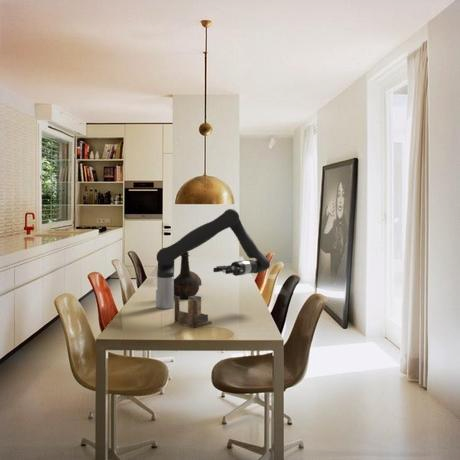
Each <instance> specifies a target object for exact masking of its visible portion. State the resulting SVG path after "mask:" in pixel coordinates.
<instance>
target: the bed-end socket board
mask: <svg viewBox="0 0 460 460" xmlns="http://www.w3.org/2000/svg"><path fill="white" fill-rule="evenodd" d="M173 323H174V324H177V325H181V326H185V327H188V328H192V329H198V328H199V327H203V326H208V325H212V323H213V322H212V321H210V320H209V314H206V313H202V312H201V316H198V300H193V314H191V313H188V311H182V310H180V298H179V296H175V295H174V321H173Z"/></svg>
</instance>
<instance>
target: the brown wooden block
mask: <svg viewBox="0 0 460 460" xmlns="http://www.w3.org/2000/svg"><path fill="white" fill-rule="evenodd" d="M193 300H198V316H201V313H202V296H201V295H200V296H199V295H195V296H191V297H188V298H187V313H191V314H193Z"/></svg>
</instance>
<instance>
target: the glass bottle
mask: <svg viewBox="0 0 460 460" xmlns="http://www.w3.org/2000/svg"><path fill="white" fill-rule="evenodd" d="M189 257H190V255H189V251H188V252H186V253H184V254H182V255H181V256H180V259H181V260H180V269H179V270H180V272H179V274H180V275H179V274H178V275H179V277H177V276H176V277H177V278H176V277H174V297H175V296H179V299H188V297H191V296H197V294H198V293H199V290H200V286H199V283H198V281H197V280H196V279H194V278H193V277H192V276H191V274H190V271H191V270H190V262H189Z"/></svg>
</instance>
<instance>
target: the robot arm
mask: <svg viewBox="0 0 460 460" xmlns="http://www.w3.org/2000/svg"><path fill="white" fill-rule="evenodd" d="M227 229H230V230H231V231H232V232H233V234H234V235H235V237H236V238H237V241H238V243H239V244H240V246H241V248H242V249H243V251H244V253H245V254H246V256H247V257H248V259H251V260H238V261H237V260H236V261H233V262H231V263H230V265H218V266H216V267H213V273H221V272H222V273H224V274H225V275H230V274H231V275H233V276H235V277H238V276H244V275H245V276H246V275H247V274H259V273H262V272H264V271H266V270H269V268H270V266H271V263H270V260H269V259H268V257H267V256H265V254H263V252H262V251H260V250H259V248H258V247H257V245H256V244H255V242H254V240H253V239H252V238H251V236H250V234H248V232H247V231H246V229H245V227H244V225H243V224H242V221H241V219H240V214H239V212H238V211H237V210H236V209H234V208H228V209H226V210H225V211H224V212H223V213H221V214H220V215H219V216H218V217H216V218H215V219H213V220H212V221H210V222H207V223H205V224H202V225H199V226H198V227H196V228H195V229H192V231H189V232H188V233H186V234H185V235H184V236H182V237H181V238H180V239H178V240H177V241H176V242H175V243H173V244H171V245H169V246H166V247H162V248H161V249H159V250H158V252H157V253H156V261H157V270H156V271H157V272H156V278H157V279H156V287H157V288H156V290H155V307H156V308H158V309H160V310H163V309H164V310H167V309H174V308H175V295H174V279H175V261H176V259H178V258H179V257H181V255H182V254H184V253H186V252H188V253H189V252H190V251H193V250H194V249H197V248H199V247H200V246H202V245H204V244H205V243H207V242H208V241H210V240H211V239H212V238H214V237H215V236H216V235H217V234H219V233H220V232H222V231H225V230H227ZM252 259H255V260H252Z"/></svg>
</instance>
